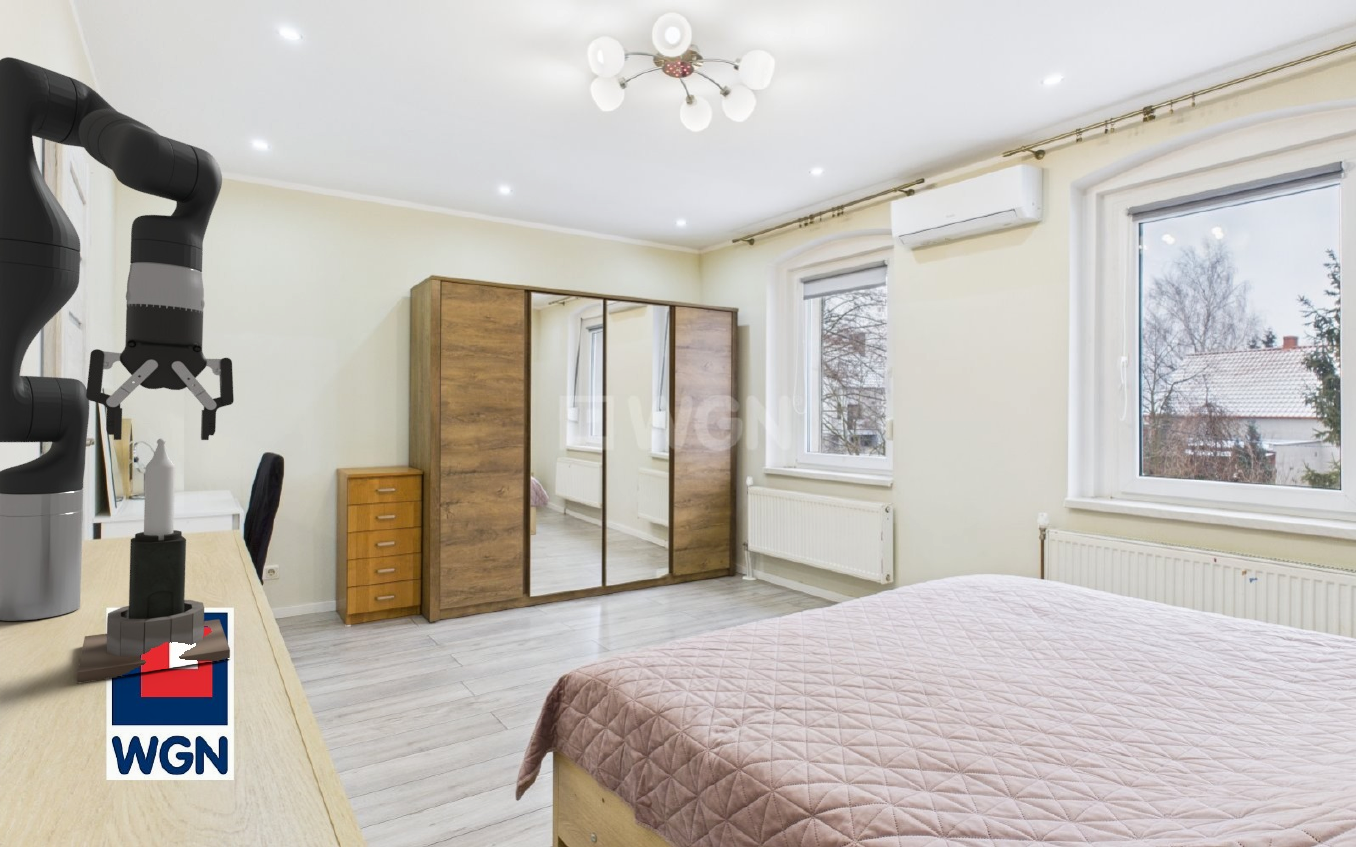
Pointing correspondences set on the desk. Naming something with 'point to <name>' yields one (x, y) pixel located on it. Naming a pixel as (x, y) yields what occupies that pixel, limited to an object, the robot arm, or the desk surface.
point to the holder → (149, 641)
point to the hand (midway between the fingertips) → (162, 439)
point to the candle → (158, 547)
